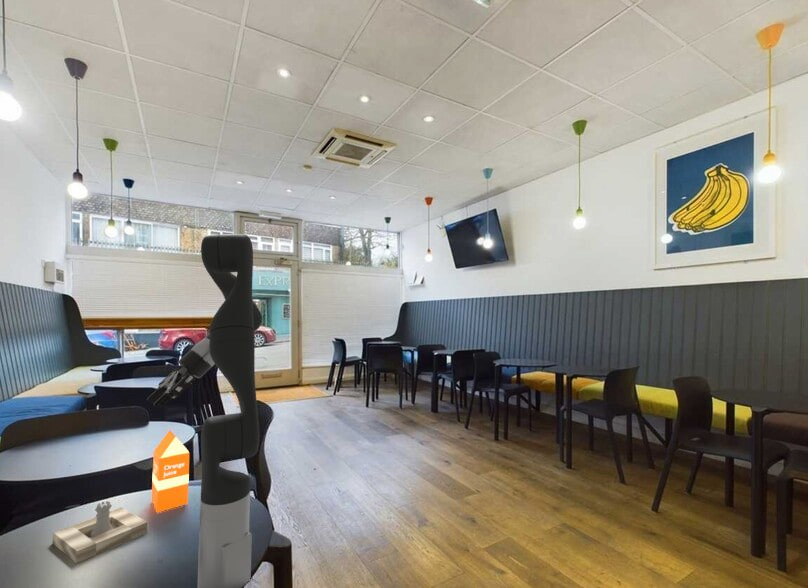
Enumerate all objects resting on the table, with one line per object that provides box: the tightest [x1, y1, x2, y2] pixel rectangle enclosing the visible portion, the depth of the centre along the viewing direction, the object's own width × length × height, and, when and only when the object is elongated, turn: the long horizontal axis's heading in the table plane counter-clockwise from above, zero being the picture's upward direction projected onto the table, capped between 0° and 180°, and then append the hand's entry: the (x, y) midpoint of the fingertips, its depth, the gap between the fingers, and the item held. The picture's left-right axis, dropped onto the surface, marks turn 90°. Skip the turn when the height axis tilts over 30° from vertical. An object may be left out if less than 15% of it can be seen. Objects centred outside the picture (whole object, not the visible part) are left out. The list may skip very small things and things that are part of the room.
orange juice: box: [151, 429, 190, 514], centre depth 110 cm, size 8×9×20 cm
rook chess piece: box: [90, 500, 114, 538], centre depth 93 cm, size 4×4×8 cm
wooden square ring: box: [52, 507, 148, 564], centre depth 92 cm, size 14×14×2 cm
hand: (152, 404), depth 100 cm, fingers open, 8 cm apart
